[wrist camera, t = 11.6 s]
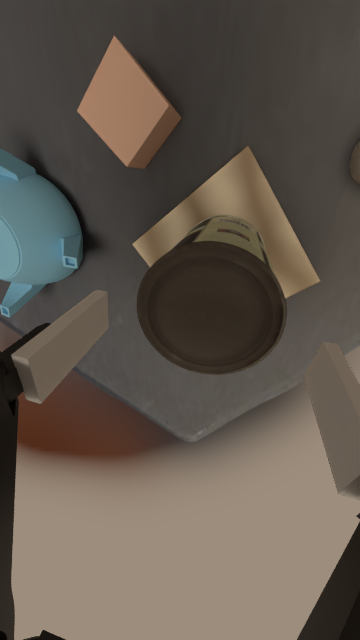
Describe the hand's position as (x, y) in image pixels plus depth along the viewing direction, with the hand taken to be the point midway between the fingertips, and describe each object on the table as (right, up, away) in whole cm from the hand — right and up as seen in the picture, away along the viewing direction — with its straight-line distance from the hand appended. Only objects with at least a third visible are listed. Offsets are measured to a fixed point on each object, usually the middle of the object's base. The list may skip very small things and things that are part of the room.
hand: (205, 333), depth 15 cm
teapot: (-20, +14, +19) cm, 31 cm away
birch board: (+4, +9, +15) cm, 18 cm away
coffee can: (+3, +8, +14) cm, 16 cm away
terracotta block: (-6, +21, +10) cm, 24 cm away
